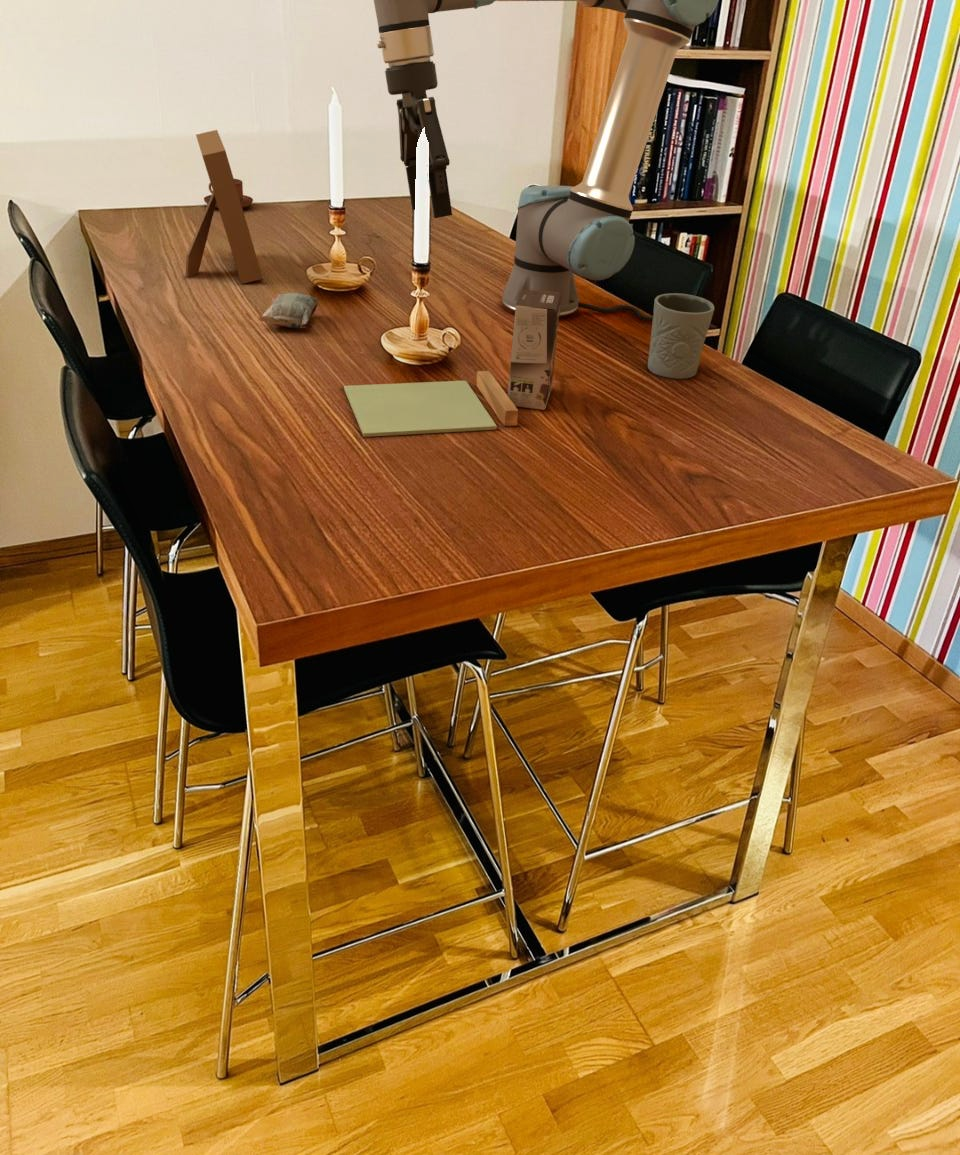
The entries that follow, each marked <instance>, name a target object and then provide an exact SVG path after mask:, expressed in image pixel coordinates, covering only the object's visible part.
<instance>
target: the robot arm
mask: <svg viewBox="0 0 960 1155" xmlns="http://www.w3.org/2000/svg"><path fill="white" fill-rule="evenodd" d="M719 1H720V0H373V4H374V10H375V15H376V20H377V28H378V33H379V39H380V40H378V41H377V43H376V46H377V48H378V49H381V53H382V60H383V63H385V64H387V65H388V67H386V68H385V70H384V73H385V74H384V75H385V80H386V86H387V92H388V94H389V95H391V96H396V95H397V96H398V95H401V96H402V97H401V98H399V99H396V106H397V115H398V131H399V132H398V134H399V152H400V160H401V162H402V163H403V164H404V167H405V172H406V179H407V185H408V191H409V198H410V204H411V210H412V211H416V210H415V179H416V147H417V142H418V139H419V137H420V134H421V132H422V129H423V128H424V127H425V134H426V137H427V140H428V142H429V180H428V187H429V193H430V200H431V206H432V207H431V208H432V212H433V213H432V214H433V218H434V219H439V218H443V217H449V216H453V210H452V204H451V203H452V202H451V197H450V190H449V182H448V176H447V168H448V166H450V164H451V162H450V159H449V154H448V151H447V147H446V143H445V139H444V135H443V131H442V128H441V124H440V120H439V117H438V113H437V106H436V99H435V97H434V96H429V97H428V95H427V91H430V90H434V89H436V88H437V87H438V84H439V83H438V76H437V69H436V63H434V61H433V60H431V57H434V55H435V51H434V45H433V38H432V31H431V26H430V18H429V14H435V13H440V12H449V11H457V10H466V9H467V10H468V9H475V10H476V9H478V8H479V7H486V6H490V5H492V4H493V3H494V2H578V4H579V5H580V6H581V7H583V8H598V9H599V8H600V9H605V10H612V11H615V12H619V13H623V14H625V15H624V18H623V24H624V27H625V28H626V31H627V39H626V42H625V45H624V48H623V51H622V55H621V56H620V61H619V64H618V67H617V71H616V73H615V77H614V80H613V83H612V86H611V89H610V93H609V96H608V98H607V102H606V106H605V109H604V112H603V115H602V118H601V121H600V124H599V128H598V131H597V133H596V137H595V141H594V143H593V146H592V150H591V153H590V156H589V159H588V162H587V166H586V169H585V172H584V175H583V178H582V181H581V182H580V183H579V184H577V185H575V186H570V185H534V186H527V187H525V188H523V189H522V190H521V192H520V194H519V199H518V204H517V221H516V235H515V236H516V237H515V249H514V260H513V267H512V270H511V272H510V274H509V277H508V279H507V282H506V285H505V288H504V290H503V293H502V296H501V307H502V309H504V310H505V311H506V312H508V313H510V314H513V315H515V308H516V306H515V305H516V303H517V301H518V298H519V296H520V294H521V292H522V290H523V289H525V290H533V291H537V290H538V291H549V292H558V293H562V295H561V304H560V313H559V320H563V319H567V318H571V317H573V316H575V315H576V314H578V312H579V308H580V309H581V308H582V309H585V310H589V311H593V312H596V313H599V314H613V313H616V312H619V311H628V312H631V313H632V314H634V315H635V316H637V317H638V318H639V319H640V320H642V321H644V322H648V323H653V316H648V315H646V314H643V313H642V312H641V311H640V310H639V309H638V308H637V307H634V306H631V305H627V304H619V305H615V306H611V307H600V306H596V305H594V304H589V303H585V302H582V301H581V302H580V301H579V295H578V289H577V285H576V279H575V275H576V276H577V277H582V278H585V279H586V280H587V279H588V280H590V281H604V280H606V279H609V278H611V277H612V276H613V275H615V274H617V273H619V272H620V271H621V270H622V269H623V268H624V267H625V266H626V265H627V263H628V262H629V260H630V258H631V256H632V254H633V251H634V248H635V239H636V238H635V235H634V229H633V227H632V225H631V224H630V219H631V217H632V214H633V210H634V207H633V205H632V203H631V201H630V197H629V196H630V193H631V190H632V188H633V184H634V181H635V178H636V175H637V172H638V169H639V166H640V163H641V160H642V158H643V157H642V156H643V154H644V151H645V148H646V145H647V143H648V139H649V136H650V132H651V130H652V127H653V124H654V121H655V118H656V115H657V112H658V109H659V107H660V103H661V101H662V97H663V94H664V91H665V88H666V84H667V82H668V79H669V76H670V73H671V70H672V67H673V65H674V62H675V58H676V55H677V52H678V51H679V50H680V49H681V48H682V47H685V46H687V45H688V44H689V43H690V42H691V39H692V36H693V34H694V30H695V27H697V26H698V25H700V24H702V23H704V22H705V21H706V19H707V18H710V17H711V16H712V14H713V13H714V12H715V10H716V8H717V6H718V4H719Z"/></svg>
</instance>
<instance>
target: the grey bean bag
mask: <svg viewBox="0 0 960 1155" xmlns="http://www.w3.org/2000/svg"><path fill="white" fill-rule="evenodd" d="M318 304H319V301H318V298H317V297H314V296H312V295H308V294H306V293H302V292H301V293H300V292H287V293H280V294H276V295H275V296H274V297H273V298H271V304H270V305H269V306H268V308H267V309H266V310H265V311H264V313H263V314H262V315H261V316H258V319H259V321H261V322H265V323H266V324H269V325H273V326H277V327H284V328H293V329H305V328H307V327H308V325H309V324H310V320H311V318H312V317H313V315H314V313H315V312H316V310H317V308H318Z"/></svg>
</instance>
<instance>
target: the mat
mask: <svg viewBox="0 0 960 1155" xmlns="http://www.w3.org/2000/svg"><path fill="white" fill-rule="evenodd" d="M343 390H344V393H345V394H346V397H347V400H348V403H349V405H350V407H351V409H352V412H353V415H354V417H355V419H356V421H357V425H358V427H359V429H360V431H361V434H362V436H363V438H370V437H372V438H373V437H387V436H405V435H421V434H422V435H423V434H424V435H425V434H439V433H440V434H441V433H460V432H474V431H475V432H477V431H494V430H497V428H498V426H497V424H496V422H495V421H494V420H493V418H492V416H491V415H490V414H489V412H488V411H487V409H486V408H485V406H484V405H483V404H482V402H481V400H480V399H479V397H478V396H477V394H476V393H475V392H474V390H473V388H472V387H471V386H470V385H469V383H468V381H467V380H447V381H425V382H424V381H423V382H401V383H399V382H398V383H378V384H377V383H376V384H357V385H356V384H353V385H352V384H351V385H343Z"/></svg>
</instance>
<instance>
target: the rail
mask: <svg viewBox="0 0 960 1155" xmlns="http://www.w3.org/2000/svg"><path fill="white" fill-rule="evenodd" d="M475 386H476V387H477V389H478V390H479V392H480V394H482V395H483V397H484V399H485V400H486V402H487V403H488V405H489V407H490V408H491V409H492V411H493V412H494V413H495V415H496V417H497V418H498V419H499V421H500V422H501V424H502V425H503V426H504V427H513V426H515V427H516V426H518V416H519V409H518V407H517V406H515V405H514V404H513V402H512V401H511V400H510V398H509V397H508V393H506V392H505V390H504V389H503V388H502V386H501V385H500V384H499V382H498V381H497V379H496V378H495V376H494V375H493V374H492V372H490V370H478V371H476V385H475Z"/></svg>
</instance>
